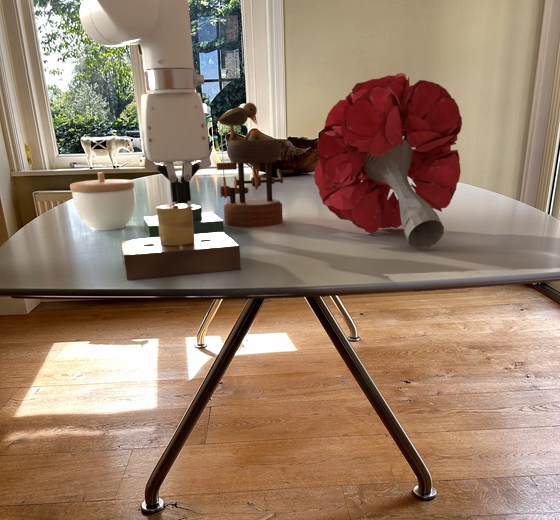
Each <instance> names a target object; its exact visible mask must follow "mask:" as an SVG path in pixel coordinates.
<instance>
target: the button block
mask: <svg viewBox="0 0 560 520" xmlns="http://www.w3.org/2000/svg"><path fill="white" fill-rule="evenodd" d="M191 205H192V213H193V225H194V235H195V234H208V233H220V232H224V233H225V227H224V225H225V224H224V219H222V218H220V217H219V216H218V215H216V214H215V213H214V212H212V211H211V212H203V210H202V206H201V205H196V204H191ZM142 218H143V228H144V231H145V233H146V235H147V236H148V238H156V237H159V227H158V218H157V215H153V216H152V215H151V216H143V217H142Z"/></svg>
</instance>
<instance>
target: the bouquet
mask: <svg viewBox="0 0 560 520" xmlns="http://www.w3.org/2000/svg"><path fill="white" fill-rule="evenodd" d="M462 127H463V118H462V116H461V112H460V107H459V105H458V103H457V101H456V100H455V98H454V97H452V95H451V94H450V92H448V90H447V89H446V88H445V87H443V86H442V85H440V84H439V83H437V82H435V81H429V80H426V79H419V80H418V81H416V82H415V83H414V84H413V85H412V84H411V85H410V76H408V78H407V75H406V73H403V72H399V73H396V74H395V75H390V74H389V75H386V76H382V77H380V78H371V79H368V80H366V81H361V82H357V83H355V85H354V86H353V87H352V88H351V92H349V93H348V94H347V96H345V99H340V100H338V101H337V102H336V104H334V105H333V106H332V108H331V109H330V110H329V111H328V113H327V115H326V119H325V121H324V127H323V129H322V130H321V131H320V132H319V134H318V136H319V138H318V142H317V154H318V162H317V163H316V165H315V167H314V171H313V180H314V183H315V185H316V187H317V189H318V195H319V197H320V199H321V201H322V204H323V205H324V206H326V208H327V209H328V210H329V211H330V212H331V213H332V214H334V215H335V216H336V217H337V218H338V219H339V220H343V221H350V222H352V224H353V225H355V226H356V227H357V228H359V229H362V230H364V232H366V233H367V234H373V233H377V232H378V230H379V229H382V230H383V229H389V228H393V229H394V228H395V229H398V228H399V227H401V226H402V228H403V235H404V237H405V238H406V240H407V243H408V244H409V246H410V247H411V248H413V249H415V250H424V249H428V248H431V247H433V246H434V245H436V244H437V243H438V242H439V241H441V239H442V237H443V235H444V232H445V226H444V225H443V223H442V220H441V219H440V217H439V215H438V214H437V212H436V211H438V212H441V213H442V212H443V209H446V208H448V206H449V205H450V204H451V202H452V200H453V197H454V195H455V192H456V191H457V185H458V184H459V181H460V179H461V174H462V172H461V163H460V161H461V160H460V157H461V156H460V154H459V149H452V146H455V145H457V141H458V135H459V134H460V133H461V131H462ZM409 179H411V181H412V183H411V182H410V181H409ZM391 190H392V193H391V194H390V192H391ZM435 210H436V211H435Z"/></svg>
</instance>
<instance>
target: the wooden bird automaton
mask: <svg viewBox="0 0 560 520" xmlns="http://www.w3.org/2000/svg"><path fill="white" fill-rule="evenodd" d="M257 112H258V109H257V106H256V105H255V104H254V103H253V102H247V103H245V104H244V105H243V107H240V106H239V107H235V108H233V109H230V110H228V111H226V112H224V113H223V114H222V115H221V116H219V118H218V119H211V120H208V122H209V123H214V122H218V123H219V124H220V125H221V128H220V130H219V132H220V139H221V143H223V134H222V132H223V126H229V128H230V129H229V130H230V136H229V142H228V144H227V147H226V154H227V157H228V159H229V160H230V161H231V162H216V170H217V171H222V172H223V173H222V174H223V177H222V185H221V186H219V197H221V198H224V199H227V198H228V197H229V200H228V201H226V203H225V204H224V205H223V217H224V219H223V222H224V225H225V226H227V227H234V228H266V227H272V226H278V225H280V224H282V223H283V219H284V218H283V203H282V202H281V201H280V200H279V199H277V198H276V199H275V198H273V185H274V184H276V183H280V184H284V178H283V175H282V174H293V173H295V171H294V169H286V170H285V169H284V170H283V169H282V170H281V169H280V168H278V169H277V170H276V175H277V178H276V179H275V177H272V171H273V170H272V163H274V162H276V161H278V160H279V159H280V156H281V155H282V146H281V144H280V141H279V140H278V139H277V138H261V134H260V133H259V130H258V128H257V129H256V130H254V129H252V130H249V133H250V134H249V136H248V138H241V139H240V138H239V139H238V138H237V139H236V137H235V135H234V127H237V126H243V125H244V124H246V122H247V121H248V119H250V120H251V121H252V122H253V123H254V124H255V125H256V126H257V125H258V121H257V116H256V115H257ZM223 147H224V146H223V145H221V154H222V155H221V156H222V159H224V150H223V149H224V148H223ZM264 163H265V179H262V178H261V176H260V165H259V164H264ZM245 164H251V165H252V166H251V170H252V177H251V178H250V180H245V166H244V165H245ZM229 170H230V171H231V170H234V171H235V170H238V171H237V173H238V179H237V177H236V176H234V177H233V186H231V187H230V186H229V185H227V182H226V177H225V171H229ZM247 184H248V185H249V184H250V185H251V187H253V189H254V190H255V191H257V190H258V189H259V187H261V186H262V184H265V186H266V187H265V188H266V198H265V197H253V198H246V194H248V193H249V187H247V186H246V185H247ZM245 186H246V187H245ZM236 195H239V198H236Z"/></svg>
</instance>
